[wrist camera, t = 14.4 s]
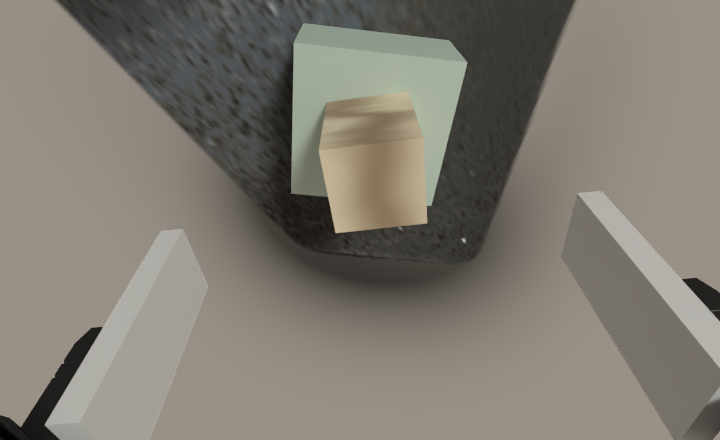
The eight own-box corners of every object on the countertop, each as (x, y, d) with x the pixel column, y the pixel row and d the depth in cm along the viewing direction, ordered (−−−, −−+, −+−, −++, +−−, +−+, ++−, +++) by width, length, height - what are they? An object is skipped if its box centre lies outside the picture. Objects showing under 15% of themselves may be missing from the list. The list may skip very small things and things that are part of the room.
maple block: (339, 173, 34) (335, 233, 27) (326, 102, 30) (318, 150, 24) (413, 164, 33) (427, 223, 27) (408, 91, 30) (423, 137, 23)
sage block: (299, 155, 40) (291, 193, 35) (303, 22, 34) (293, 42, 28) (420, 167, 41) (431, 205, 36) (448, 39, 34) (467, 62, 29)
